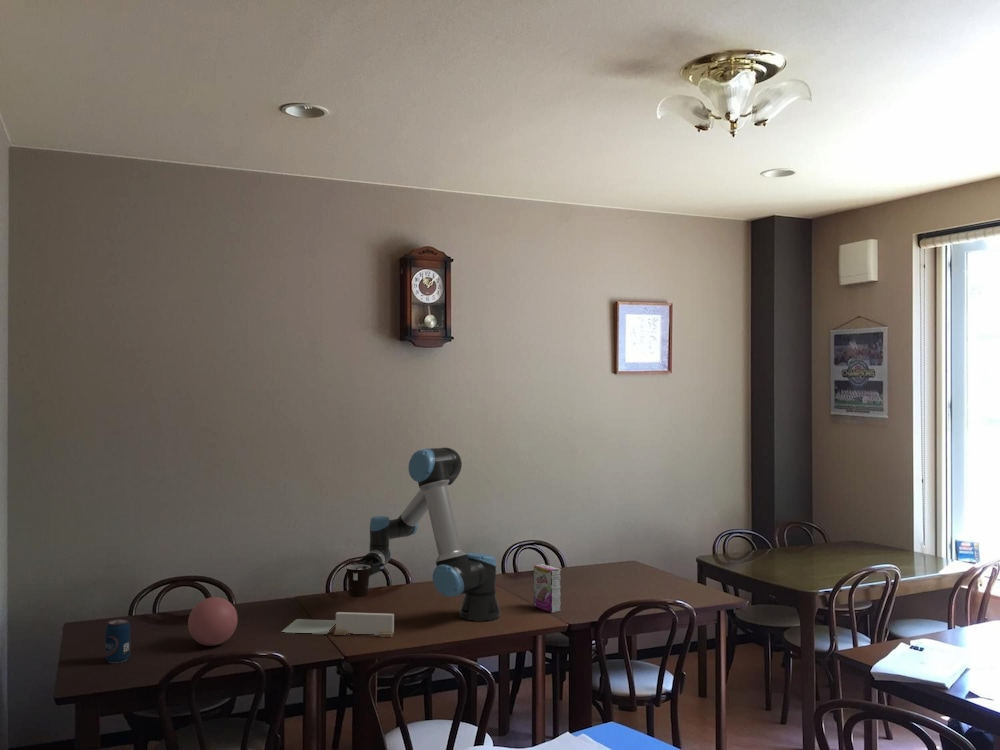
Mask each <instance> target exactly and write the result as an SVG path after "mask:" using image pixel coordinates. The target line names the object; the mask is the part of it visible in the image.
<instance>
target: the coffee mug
mask: <svg viewBox="0 0 1000 750" xmlns="http://www.w3.org/2000/svg"><path fill="white" fill-rule="evenodd" d="M356 564H357V565H351V564H350V565H347V566H346V568H345V569H346V577H347V587H348V595H349V597H350V598H364V597H367V596H368V592H369V586H370V585H369V582H370V577H371V575H370V569H371V566H369V565H363V564H358V563H356ZM363 567H366V569H363ZM356 568H361V569H358V570H356ZM353 572H354V574H356V573H358V580H353Z"/></svg>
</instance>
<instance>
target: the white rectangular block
mask: <svg viewBox="0 0 1000 750" xmlns="http://www.w3.org/2000/svg"><path fill="white" fill-rule="evenodd" d="M335 620H336V625H335V631H334V632H333V636H334V635H346V634H347V635H349V634H348V633H353V634H374V635H373V636H379V635H380V636H379V638H385V637H391V638H392V637H393V636H394V635H393V634H395V632H394V631H395V614H394V613H383V612H382V613H381V612H380V613H379V612H377V613H375V612H345V611H337V612H336V613H335ZM347 635H346V636H347Z"/></svg>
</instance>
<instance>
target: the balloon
mask: <svg viewBox="0 0 1000 750" xmlns="http://www.w3.org/2000/svg"><path fill="white" fill-rule="evenodd" d="M237 612H238V611H237V609H236V608H235V606H234V605H233V604H232V603H231V602H230V601H229V600H228V599H225V598H223V597H218V596H213V597H211V596H210V597H208V598H207V597H206V598H205V599H203V600H201V601H198V603H196V605H195V606H194V607H193V608H192V609H191V611H190V614H189V616H188V620H187V621H188V622H187V627H188V631H189V634H190V636H191V637H192V639H194V641H195V642H197V643H199V644H200V645H203V646H209V647H214V646H218V645H221V644H223V643H224V642H227V641H228V640H229V639H230V638H231V637H232V636H233V635H234V633H235V631H236V630H237V626H238V619H239V618H238V613H237Z"/></svg>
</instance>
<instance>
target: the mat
mask: <svg viewBox="0 0 1000 750" xmlns="http://www.w3.org/2000/svg"><path fill="white" fill-rule="evenodd" d="M335 624H336V619H310V618H309V619H308V618H307V619H306V618H305V619H303V618H296V619H294V620H293V622H291V623H290V624H289V625H287V626H286V627H285V628H284V629H283V630H282V631H281V632H285V633H284V634H295V633H312V634H311V635H324V634H326V635H327V634H328V633H329V632H330V631H331V630H332V629H333V628H334V627H335V626H336V625H335ZM334 625H335V626H334ZM333 626H334V627H333ZM332 627H333V628H332ZM331 628H332V629H331ZM330 629H331V630H330ZM329 630H330V631H329Z"/></svg>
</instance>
